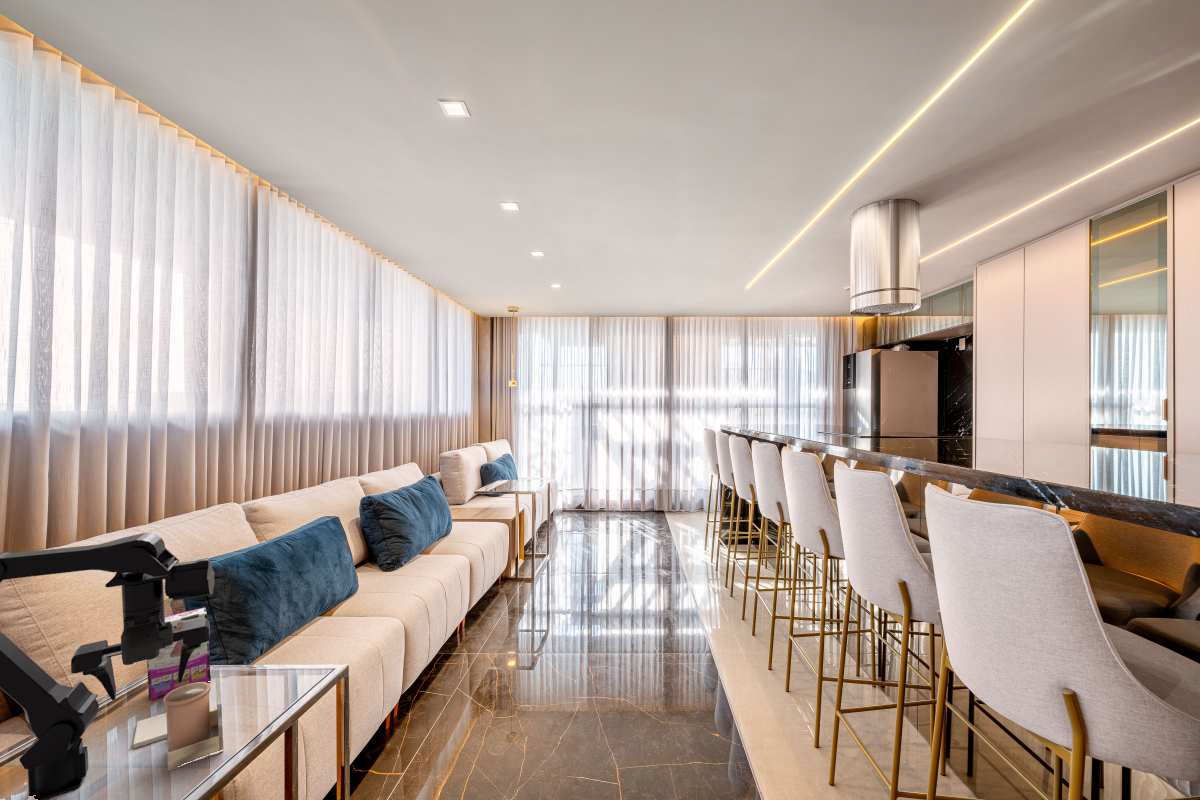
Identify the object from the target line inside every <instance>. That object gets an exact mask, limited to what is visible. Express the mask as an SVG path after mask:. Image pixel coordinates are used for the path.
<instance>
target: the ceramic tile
mask: <svg viewBox="0 0 1200 800" xmlns="http://www.w3.org/2000/svg"><path fill="white" fill-rule="evenodd" d="M133 739H134V740H133V747H132V748H133V749H136V748H140V747H143V746H146V745H149V744H152V743H154V742H158V741H160V740H164V739H167V719H166V712H165V713H161V714H159V715H154V716H150V717H149V718H145V719H141V720H138V721H137V724H136V729H135V732H134V738H133Z"/></svg>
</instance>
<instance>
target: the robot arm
mask: <svg viewBox="0 0 1200 800" xmlns="http://www.w3.org/2000/svg"><path fill="white" fill-rule="evenodd" d="M82 571H83V572H84V571H85V572H86V571H102V572H107V573H108V572H109V573H115V574H114V576H113V577H112V578H111V579H110V580H109V581H108V582H107V583H106V584H104V586H105V588H107V589H108V588H109V589H110V588H115V587H120V588H121V602H122V603H121V604H122V605H121V607H122V621H123V622H122V626H123V630H122V632H121V635H120V643H114V644H110V645H109V643H108V640H107V639H105V640H104V639H103V640H99V641H95V642H90V643H87V644H81V645H80V646H79V647H78V648H77V649H76V650H75V652H74V654H73V656H72V658H71V661H70V671H71V674H73V675H74V674H79V673H80V674H81V673H82V675H83V676H93V677H94V678H96V679H97V680H98V681H99V682H100V684H101V685H102V686H103V688H104V690H105V691H106V693H107V695H108V697H109V698H110V699H111V701H115V700H116V698H117V686H116V685H117V684H116V681H115V675H114V674H115V673H114V668H113V662H112V658H113V657H115V656H120V655H121V659H122V661H121V663H122V664H123V665H124V666H129V665H133V664H134V663H138V662H142V661H147V660H151V659H154V658H156V657H157V656H158V655H159V652H160V649H162V648H166V646H169V645H172V644H173V642H176V641H181V640H182V647H181V656H180V664H179V672H178V681H179V682H181V681H182V678H183V675H184V672H185V668H186V665H187V662H188V660H189V658H190V656H191V654H192V652H193V650H194V649H196V648H199V647H201V643H205V642H207V641H209V642H210V637H211V636H210V635H211V626H210V625H211V624H210V620H209V619H208V618H207V619H206V618H203V619H199V620H194V621H190V622H185V623H184V626H183V629H181V630H177V631H173V627H172V624H169V625H165V617H166V615H165V614H166V613H165V612H166V611H165V596H166V597H167V598H168V599H172V600H173V601H174V602H176V601H182V600H188V599H194V598H199V597H200V598H201V597H207V596H211V595H213V593H214V589H215V571H214V570H213V566H212V563H211V557H203V558H201V559H196V560H191V561H189V560H188V561H183V562H182V561H181V562H180V559H179V558H178V557H177V556H175V555H174V554H173V553H172V552H171V551H170V550H168V548H166V543H165V541H164V539H163V538H162V537H161V536H159V535H158V534H157V533H153V532H141V533H138V534H134V535H130V536H129V535H128V536H124V537H121V538H118V539H114V540H111V541H108V542H103V543H98V544H93V545H92V544H90V545H81V546H72V547H62V548H61V547H60V548H51V549H50V548H49V549H42V550H41V549H40V550H30V551H19V552H7V551H5V552H0V584H1V583H2V582H3V581H4V580H12V579H13V580H14V579H21V578H22V579H23V578H30V577H40V576H47V575H48V576H49V575H57V574H59V575H60V574H65V573H66V574H67V573H74V572H76V573H77V572H82ZM164 594H165V595H164ZM0 689H1V690H2V691H3V692H4V693H5V694H7V696H9V697H10V698H11V699H12V700H14V701H15V703H17V704H18V705H19V706H20V707H22V708H23V710H24V711H25V713H26V716H27V720H28V723H29V729H30V731H31V732H32V733H33V735H34V736H35V738H36V739H35V740H34V741H33V743H32V744H31V745H29V747H28V748H27V749H26V750H25V751H24V753H23V754H21V756H20V757H19V758H18V759H19V762H20V764H21V765H22V767H23V768H24V770H27V780H28V781H27V783H28V795H29V796H33V795H36V796H34V798H35V799H38V800H46V799H49V798H51V797H55V796H57V795H60V794H62V793H67V792H69V791H73V790H75V789H77V788H79V787H81V786H82V784H83V783H82V782H83V779H84V778H85V777H87V775H88V774H87V773H88V771H89V755H88V751H89V750H88V746H87V745H84V744H83V743H84V742H83V738H82V736H83V735H84V734H85V732H86V730H87V729H88V728H89V727H90V725H91V724H92V723H93V722H94V720H95V719H96V717H97V715H98V712H99V709H100V704H99V702H98V700H97V698H98V696H99V694H98V693H94V692H92V691H91V690H90V689H89V688H88V687H87V686H86V684H85V683H84V682H83V681H78V682H77V683H76V684H75V685H74V686H72V687H71V686H66V685H63V684H60V683H58V681H56V680H55V679H54V678H53V677H52V676H50V674H49V673H47V672H46V671H45V670H44V669H43V668H42V667H41V666H39V665H38V664H37V663H36V662H35V661H34V660H33V659H32V658H31V657H29V656H28V655H27V654H26V653H25V652H24V651H23V650H22V649H21V648H19V647H18V646H17V645H16V644H15V643H14V642H13V641H12V640H11V639H9V637H7V636H6V635H5V634H4V633H3V632H2V631H1V630H0Z"/></svg>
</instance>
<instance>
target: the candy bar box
mask: <svg viewBox="0 0 1200 800" xmlns="http://www.w3.org/2000/svg"><path fill="white" fill-rule="evenodd" d="M203 618H206V619H208V613H207V609H206V607H202V608H201V607H200V608H196V609H193V610H188V611H184V612H180V613H176V614H172V615H167V616H165V625H169V624H172V627H173V631H177V630H181V629H183V626H184V623H185V622H190V621H194V620H199V619H203ZM209 643H210V640H209V641H207V642H205V643H201V647H199V648H196V649H194V650H193V652H192V654H191V656H190V658H189V660H188V662H187V665H186V668H185V672H184V675H183V678H182V681H181V682H179V681H178V672H179V664H180V656H181V647H182V640H181V641H176V642H173V644H172V645H169V646H166V648H162V649H160V652H159V655H158V656H157V657H156V658H154V659H151V660H146V669H147V686H148V687H147V688H148V701H154V699H155V700H157V699H161V698H164V697H165V696H166V695H167V694H168V693H169V692H171V691H172V690H174V689H176V688H179V687H181V686H184V685H187V684H191V683H196V682H208V681H212V680H211V679H212V677H211V657H210V644H209Z"/></svg>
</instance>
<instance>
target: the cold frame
mask: <svg viewBox="0 0 1200 800" xmlns="http://www.w3.org/2000/svg"><path fill="white" fill-rule="evenodd" d="M220 679H221V678H220V677H217V678H215V690H216V692H215V693H216V708H214V709H213V708H212V709H210V728H212V727H214V726H217V731H218V732H217V733H218V735H217V736H213V737H211V738H210V739H207V740H204V741H201V742H198V743H195V744H192V745H189V746H186V747H183V748H180V749H177V750H174V751H171V752H168V751H167V771H168V772H170V770H171V771H173V770H176V769H178V768H177V767H178V766H181V765H182V764H184V763H187V762H190V761H193V760H195V759H197V758H200V757H203V756H206V755H209V754H211V753H214V752H217V751H220V750H222V749H223V750H224V732H223V731H224V729H223V710H222V709H223V708H222V705H223V704H222V692H221V682H220V681H221V680H220ZM175 768H176V769H175Z"/></svg>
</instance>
